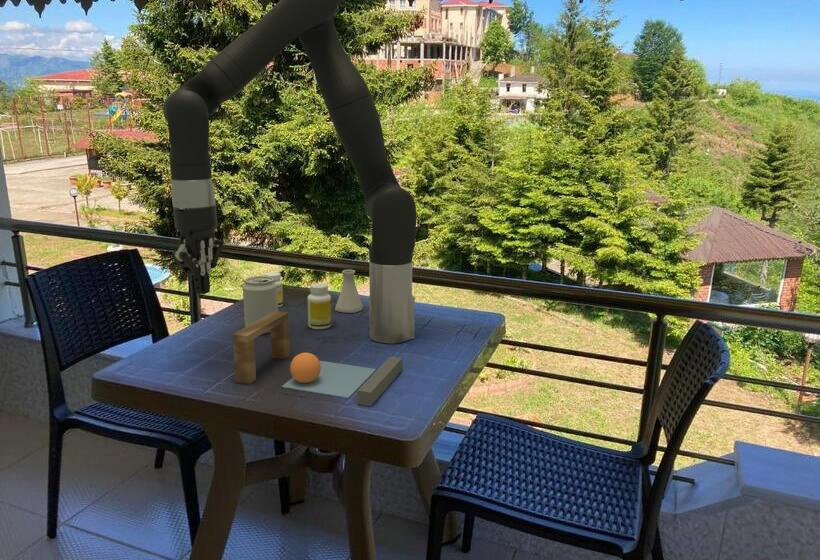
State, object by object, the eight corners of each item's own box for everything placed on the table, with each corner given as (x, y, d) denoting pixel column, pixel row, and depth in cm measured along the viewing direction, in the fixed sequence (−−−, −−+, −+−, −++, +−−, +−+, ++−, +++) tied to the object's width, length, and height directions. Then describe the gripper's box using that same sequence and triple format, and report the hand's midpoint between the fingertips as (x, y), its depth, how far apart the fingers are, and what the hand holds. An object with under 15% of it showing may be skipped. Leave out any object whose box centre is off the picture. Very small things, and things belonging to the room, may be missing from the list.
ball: (314, 345, 113) (317, 372, 114) (285, 351, 110) (288, 379, 112) (323, 356, 108) (325, 384, 109) (292, 362, 106) (295, 391, 107)
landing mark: (281, 387, 108) (281, 386, 108) (315, 360, 120) (315, 360, 120) (348, 398, 104) (348, 397, 104) (376, 370, 116) (376, 369, 116)
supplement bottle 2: (335, 327, 140) (335, 286, 137) (314, 331, 137) (313, 289, 134) (325, 320, 144) (324, 281, 142) (304, 324, 141) (302, 284, 139)
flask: (329, 311, 151) (328, 272, 148) (342, 303, 158) (342, 266, 155) (355, 315, 149) (355, 275, 146) (368, 307, 155) (367, 269, 153)
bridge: (235, 381, 110) (232, 334, 108) (276, 353, 124) (274, 310, 121) (250, 384, 109) (247, 336, 107) (290, 355, 123) (288, 312, 120)
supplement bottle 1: (261, 304, 156) (259, 273, 154) (278, 301, 159) (276, 270, 157) (269, 309, 152) (267, 276, 150) (286, 306, 155) (285, 274, 153)
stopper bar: (357, 404, 102) (357, 390, 102) (390, 368, 117) (390, 356, 116) (370, 406, 102) (370, 392, 101) (402, 370, 116) (402, 358, 116)
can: (270, 336, 133) (268, 283, 130) (239, 333, 135) (235, 281, 132) (284, 325, 141) (282, 275, 137) (254, 323, 142) (251, 273, 139)
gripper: (199, 198, 119) (207, 282, 124) (152, 207, 107) (163, 301, 112) (232, 199, 117) (239, 285, 122) (188, 209, 105) (197, 304, 110)
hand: (203, 293), depth 117 cm, fingers closed
